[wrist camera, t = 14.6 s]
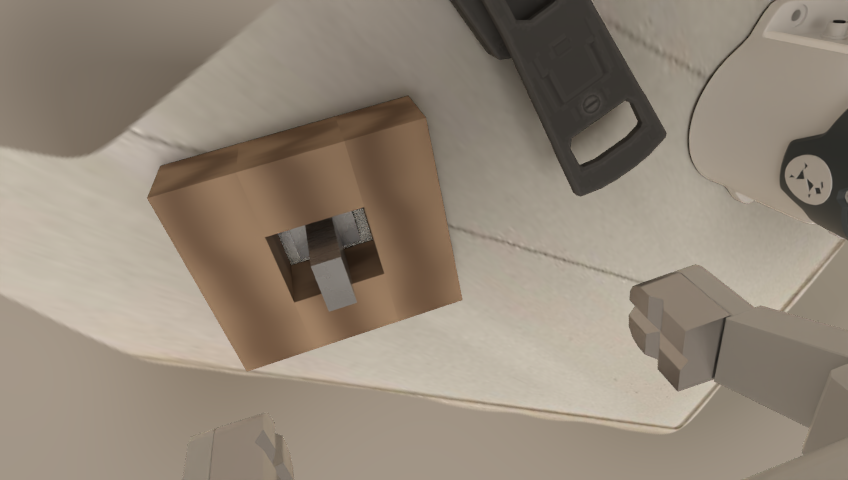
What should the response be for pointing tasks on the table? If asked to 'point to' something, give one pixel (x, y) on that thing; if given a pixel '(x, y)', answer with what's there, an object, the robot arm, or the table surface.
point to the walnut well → (303, 204)
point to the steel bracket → (329, 256)
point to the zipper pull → (568, 78)
